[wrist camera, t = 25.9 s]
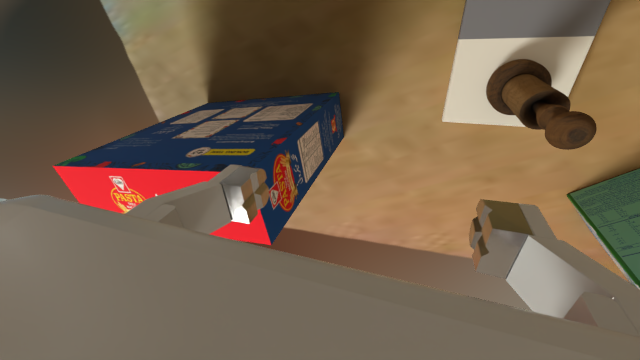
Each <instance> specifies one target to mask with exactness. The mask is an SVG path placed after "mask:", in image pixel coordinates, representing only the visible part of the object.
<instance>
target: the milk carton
mask: <svg viewBox="0 0 640 360" xmlns="http://www.w3.org/2000/svg"><path fill="white" fill-rule="evenodd" d="M567 197H568V198H569V200H570V201H571V203H572V204H573V206H574V207H575V208H576V210H577V211H578V213H579V214H580V216H581V217H582V219H583V220H584V222H585V223H586V225H587V226H588V228H589V229H590V230H591V232H592V233H593V235H594V236H595V237H596V239H597V240H598V241H599V243H600V244H601V245H602V247H603V248H604V249H605V251H606V252H607V253H608V255H609V256H610V257H611V258H612V260H613V261H614V262H615V264H616V265H617V266H618V268H619V269H620V270H621V272H622V273H623V274H624V276H625V277H626V278H627V279H628V281H629V282H630V283H631V284H632V285H633V286H635V287H636V288H638V289H640V169H637V170H634V171H631V172H628V173H626V174H623V175H620V176H617V177H615V178H612V179H609V180H606V181H603V182H601V183H598V184H595V185H592V186H590V187H587V188H584V189H581V190H579V191H576V192H573V193H570V194H567Z"/></svg>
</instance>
